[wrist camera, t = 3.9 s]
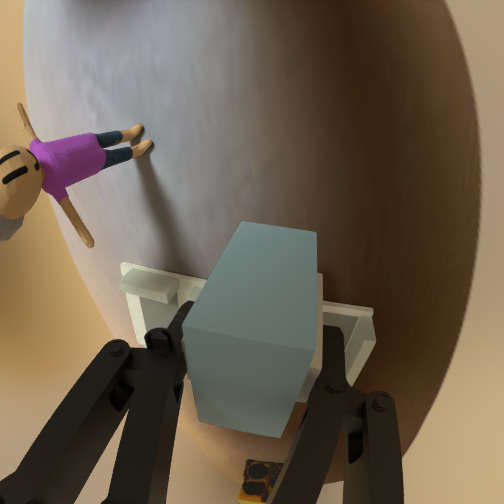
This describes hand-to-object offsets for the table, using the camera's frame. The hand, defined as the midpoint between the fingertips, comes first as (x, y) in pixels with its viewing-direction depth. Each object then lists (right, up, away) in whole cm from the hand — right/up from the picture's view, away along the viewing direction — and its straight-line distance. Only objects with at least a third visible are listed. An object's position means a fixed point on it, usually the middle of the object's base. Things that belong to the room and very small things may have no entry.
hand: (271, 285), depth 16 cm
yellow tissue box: (+3, -43, +29) cm, 52 cm away
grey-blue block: (0, 0, 0) cm, 0 cm away
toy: (-11, +10, +4) cm, 16 cm away
